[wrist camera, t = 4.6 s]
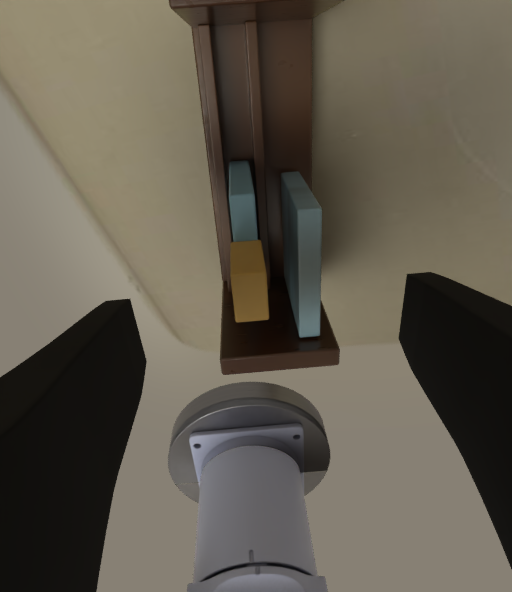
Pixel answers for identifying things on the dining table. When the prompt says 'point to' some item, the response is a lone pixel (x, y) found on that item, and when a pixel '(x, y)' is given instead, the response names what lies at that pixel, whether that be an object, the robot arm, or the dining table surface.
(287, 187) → the brown wooden rack
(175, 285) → the dining table surface
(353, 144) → the dining table surface
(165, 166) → the dining table surface
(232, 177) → the pane
